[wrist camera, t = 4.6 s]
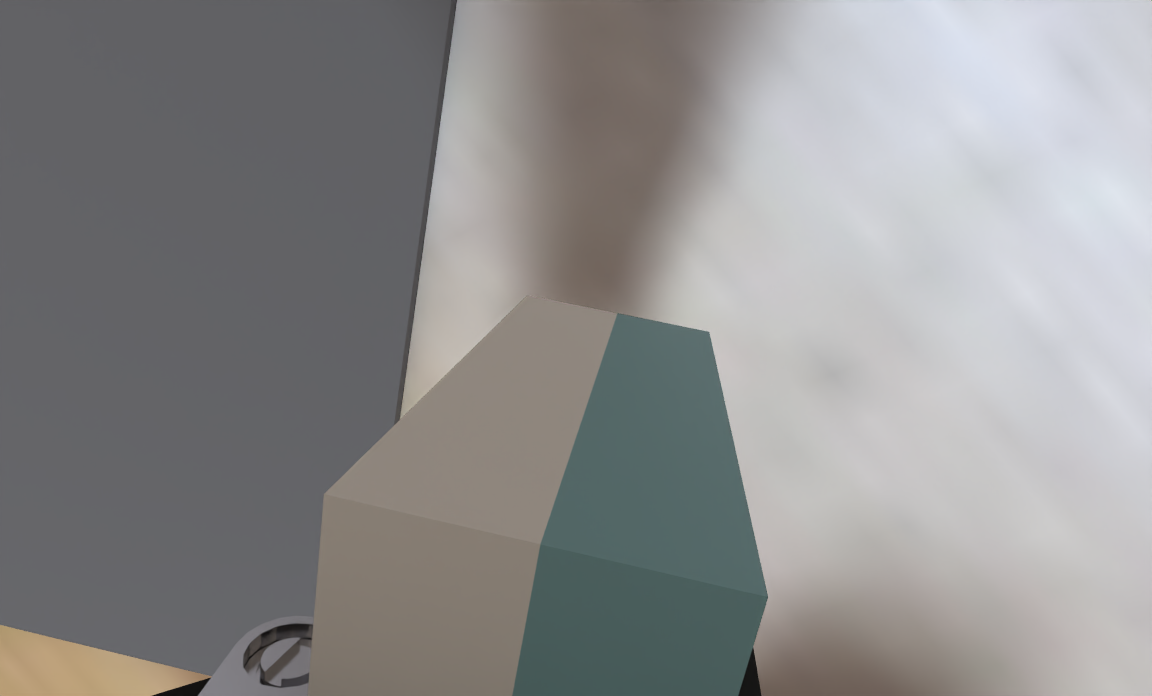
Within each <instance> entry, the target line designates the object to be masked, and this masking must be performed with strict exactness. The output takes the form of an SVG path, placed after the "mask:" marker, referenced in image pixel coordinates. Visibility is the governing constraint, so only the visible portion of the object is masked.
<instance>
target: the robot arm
mask: <svg viewBox="0 0 1152 696" xmlns="http://www.w3.org/2000/svg"><path fill="white" fill-rule="evenodd" d="M313 622H314V617H311V616H290V617H283V618H278V619H275V620H272V621H269V622H266V623H263V624H261V625H259V626H257V627H256V628H254V629H252V630H251V631H249V632H247V633H246V634H245V635H244V636H243V637H242V638H241V639H240V640H239V641H238V642H237V643H236V644H235V646H234V647H233V648H232V650H231V651H230V653H229V654H228V655H227V657H226V658H225V659H224V661H223V662H222V663H221V665H220V666H219V668H218V669H217V670H216V672H215V673H214V674H213V676H212V677H211V678H208V679H205V680H202V681H198V682H195V683H192V684H188V685H185V686H182V687H179V688H175V689H172V690H169V691H166V692H162V693H159V694H156V695H152V696H308V684H309V672H310V660H311V647H312V635H313ZM738 696H761V691H760V685H759V679H758V673H757V667H756V661H755V655H754V649H753V648H752V652H751V655H750V658H749V662H748V665H747V668H746V672H745V675H744V678H743V681H742V685H741V688H740V691H739V695H738Z"/></svg>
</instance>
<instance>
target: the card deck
mask: <svg viewBox="0 0 1152 696" xmlns="http://www.w3.org/2000/svg"><path fill="white" fill-rule="evenodd" d="M767 599H768V595H767V590H766V586H765V581H764V577H763V572H762V568H761V563H760V559H759V554H758V550H757V545H756V541H755V536H754V532H753V527H752V523H751V518H750V514H749V509H748V505H747V500H746V496H745V491H744V487H743V482H742V478H741V473H740V469H739V464H738V460H737V455H736V451H735V446H734V442H733V437H732V433H731V428H730V424H729V419H728V415H727V410H726V406H725V401H724V397H723V392H722V388H721V383H720V379H719V374H718V370H717V365H716V361H715V356H714V352H713V347H712V343H711V338H710V334H709V332H707V331H702V330H697V329H692V328H687V327H682V326H677V325H672V324H668V323H663V322H658V321H653V320H648V319H643V318H638V317H633V316H628V315H623V314H619V313H614V312H609V311H604V310H599V309H594V308H589V307H584V306H579V305H574V304H570V303H565V302H560V301H555V300H550V299H545V298H540V297H535V296H530V295H527V296H526V297H525V298H524V299H523V300H522V301H521V302H520V303H519V304H518V305H517V306H516V307H515V308H514V309H513V310H512V311H511V312H510V313H509V314H508V315H507V316H506V317H505V318H504V319H503V320H502V321H501V322H500V323H498V324H497V325H496V326H495V327H494V328H493V329H492V330H491V331H490V332H489V333H488V334H487V335H486V336H485V337H484V338H483V339H482V340H481V341H480V342H479V343H478V344H477V345H476V346H475V347H474V348H473V349H472V350H471V351H470V352H469V353H468V354H467V355H466V356H465V357H464V358H463V359H462V360H461V361H460V362H459V363H458V364H457V365H455V366H454V367H453V368H452V369H451V370H450V371H449V372H448V373H447V374H446V375H445V376H444V377H443V378H442V379H441V380H440V381H439V382H438V383H437V384H436V385H435V386H434V387H433V388H432V389H431V390H430V391H429V392H428V393H427V394H426V395H425V396H424V397H423V398H422V399H421V400H420V401H419V402H418V403H417V404H416V405H415V406H414V407H413V408H411V409H410V410H409V411H408V412H407V413H406V414H405V415H404V416H403V417H402V418H401V419H400V420H399V421H398V422H397V423H396V424H395V425H394V426H393V427H392V428H391V429H390V430H389V431H388V432H387V433H386V434H385V435H384V436H383V437H382V438H381V439H380V440H379V441H378V442H377V443H376V444H375V445H374V446H373V447H372V448H371V449H370V450H369V451H367V452H366V453H365V454H364V455H363V456H362V457H361V458H360V459H359V460H358V461H357V462H356V463H355V464H354V465H353V466H352V467H351V468H350V469H349V470H348V471H347V472H346V473H345V474H344V475H343V476H342V477H341V478H340V479H339V480H338V481H337V482H336V483H335V484H334V485H333V486H332V487H331V488H330V489H329V490H328V491H327V492H326V493H324V499H323V511H322V524H321V536H320V548H319V561H318V573H317V585H316V598H315V610H314V622H313V635H312V647H311V660H310V672H309V684H308V696H738V695H739V691H740V688H741V685H742V681H743V678H744V675H745V672H746V668H747V665H748V662H749V658H750V655H751V652H752V648H753V645H754V642H755V638H756V635H757V632H758V628H759V625H760V622H761V619H762V615H763V612H764V609H765V605H766V602H767Z"/></svg>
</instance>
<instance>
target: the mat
mask: <svg viewBox="0 0 1152 696" xmlns="http://www.w3.org/2000/svg"><path fill="white" fill-rule="evenodd" d="M456 1H457V0H0V625H4V626H8V627H12V628H16V629H20V630H24V631H28V632H32V633H37V634H41V635H45V636H49V637H53V638H57V639H61V640H65V641H69V642H73V643H78V644H82V645H86V646H90V647H94V648H98V649H102V650H106V651H110V652H115V653H119V654H123V655H127V656H131V657H135V658H139V659H143V660H147V661H151V662H156V663H160V664H164V665H168V666H172V667H176V668H180V669H184V670H188V671H193V672H197V673H201V674H205V675H209V676H213V674H214V673H215V672H216V670H217V669H218V668H219V666H220V665H221V663H222V662H223V661H224V659H225V658H226V657H227V655H228V654H229V653H230V651H231V650H232V648H233V647H234V646H235V644H236V643H237V642H238V641H239V640H240V639H241V638H242V637H243V636H244V635H245V634H246V633H247V632H249V631H251V630H252V629H254V628H256V627H257V626H259V625H261V624H263V623H266V622H269V621H272V620H275V619H278V618H283V617H290V616H311V617H314V610H315V598H316V585H317V573H318V561H319V548H320V536H321V524H322V511H323V499H324V493H326V492H327V491H328V490H329V489H330V488H331V487H332V486H333V485H334V484H335V483H336V482H337V481H338V480H339V479H340V478H341V477H342V476H343V475H344V474H345V473H346V472H347V471H348V470H349V469H350V468H351V467H352V466H353V465H354V464H355V463H356V462H357V461H358V460H359V459H360V458H361V457H362V456H363V455H364V454H365V453H366V452H367V451H369V450H370V449H371V448H372V447H373V446H374V445H375V444H376V443H377V442H378V441H379V440H380V439H381V438H382V437H383V436H384V435H385V434H386V433H387V432H388V431H389V430H390V429H391V428H392V427H393V426H394V425H395V424H396V423H397V422H398V421H399V419H400V412H401V404H402V397H403V390H404V382H405V375H406V368H407V360H408V353H409V346H410V338H411V331H412V324H413V316H414V309H415V302H416V294H417V287H418V280H419V272H420V265H421V258H422V250H423V243H424V236H425V228H426V221H427V214H428V206H429V199H430V192H431V184H432V177H433V170H434V162H435V155H436V148H437V140H438V133H439V126H440V118H441V111H442V104H443V96H444V89H445V82H446V74H447V67H448V60H449V52H450V45H451V38H452V30H453V23H454V16H455V8H456Z"/></svg>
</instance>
